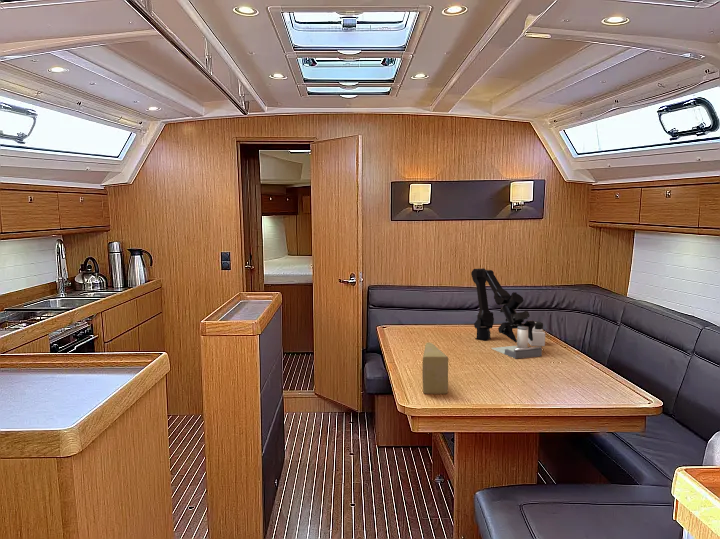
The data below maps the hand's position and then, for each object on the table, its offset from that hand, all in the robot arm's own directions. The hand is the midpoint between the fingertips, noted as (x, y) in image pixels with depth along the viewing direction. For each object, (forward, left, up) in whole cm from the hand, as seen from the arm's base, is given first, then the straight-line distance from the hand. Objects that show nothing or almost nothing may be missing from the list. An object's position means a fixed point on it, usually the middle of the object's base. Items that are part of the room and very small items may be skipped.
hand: (524, 341), depth 237 cm
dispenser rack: (-1, +1, -7) cm, 7 cm away
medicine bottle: (-3, +26, -7) cm, 27 cm away
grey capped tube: (-1, +1, -7) cm, 7 cm away
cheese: (-13, -65, -7) cm, 66 cm away
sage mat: (-9, +6, -7) cm, 13 cm away
